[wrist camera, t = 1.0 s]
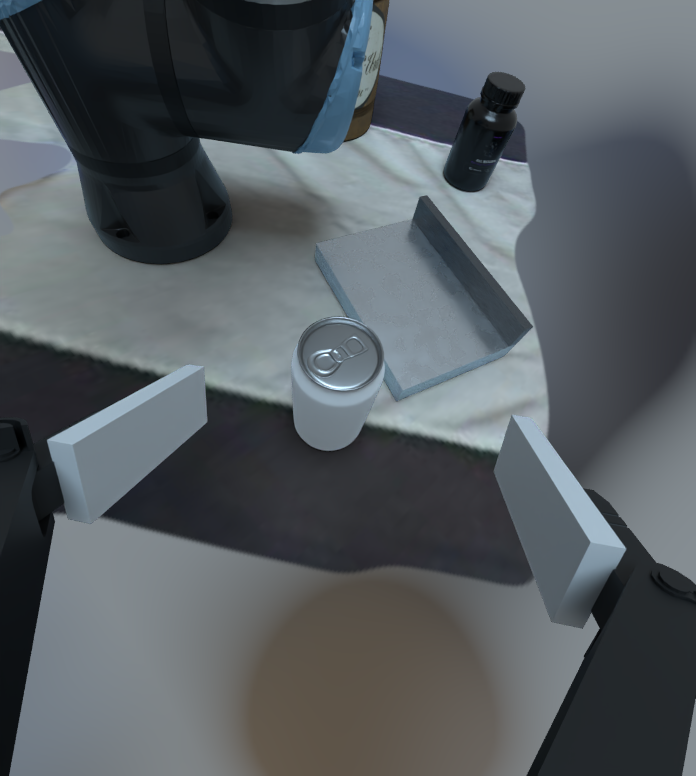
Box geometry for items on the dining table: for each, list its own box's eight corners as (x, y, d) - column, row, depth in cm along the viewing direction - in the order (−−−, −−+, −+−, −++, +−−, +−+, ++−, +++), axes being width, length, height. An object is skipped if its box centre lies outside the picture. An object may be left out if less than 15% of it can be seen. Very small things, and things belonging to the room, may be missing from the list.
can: (280, 410, 33) (270, 337, 22) (335, 377, 35) (351, 297, 25) (319, 466, 31) (329, 416, 21) (375, 427, 33) (410, 364, 23)
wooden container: (284, 143, 51) (273, -114, 32) (272, 88, 57) (257, -156, 38) (380, 143, 54) (426, -92, 35) (359, 91, 60) (388, -134, 41)
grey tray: (315, 260, 42) (317, 220, 37) (416, 233, 46) (429, 194, 41) (396, 401, 35) (412, 375, 30) (506, 355, 39) (536, 325, 34)
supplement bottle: (470, 199, 51) (515, 103, 40) (433, 175, 52) (467, 76, 42) (494, 181, 54) (543, 86, 43) (459, 158, 55) (497, 61, 44)
